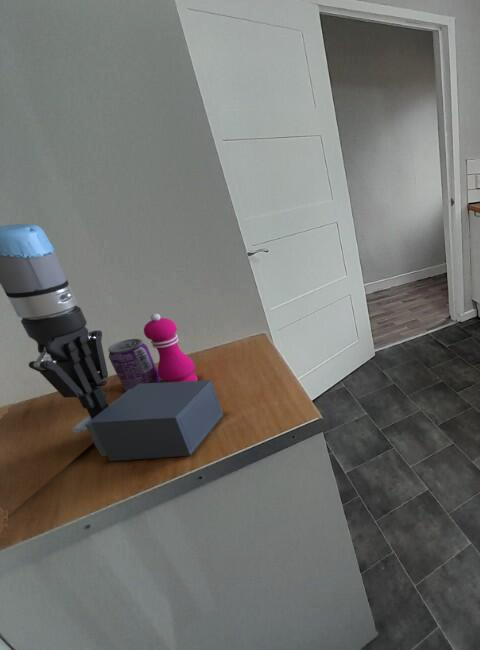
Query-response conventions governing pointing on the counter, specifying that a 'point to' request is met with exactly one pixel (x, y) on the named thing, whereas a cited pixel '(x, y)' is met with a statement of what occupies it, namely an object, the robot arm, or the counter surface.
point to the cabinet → (159, 420)
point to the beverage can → (133, 363)
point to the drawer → (87, 425)
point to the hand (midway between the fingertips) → (102, 416)
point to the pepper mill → (169, 351)
